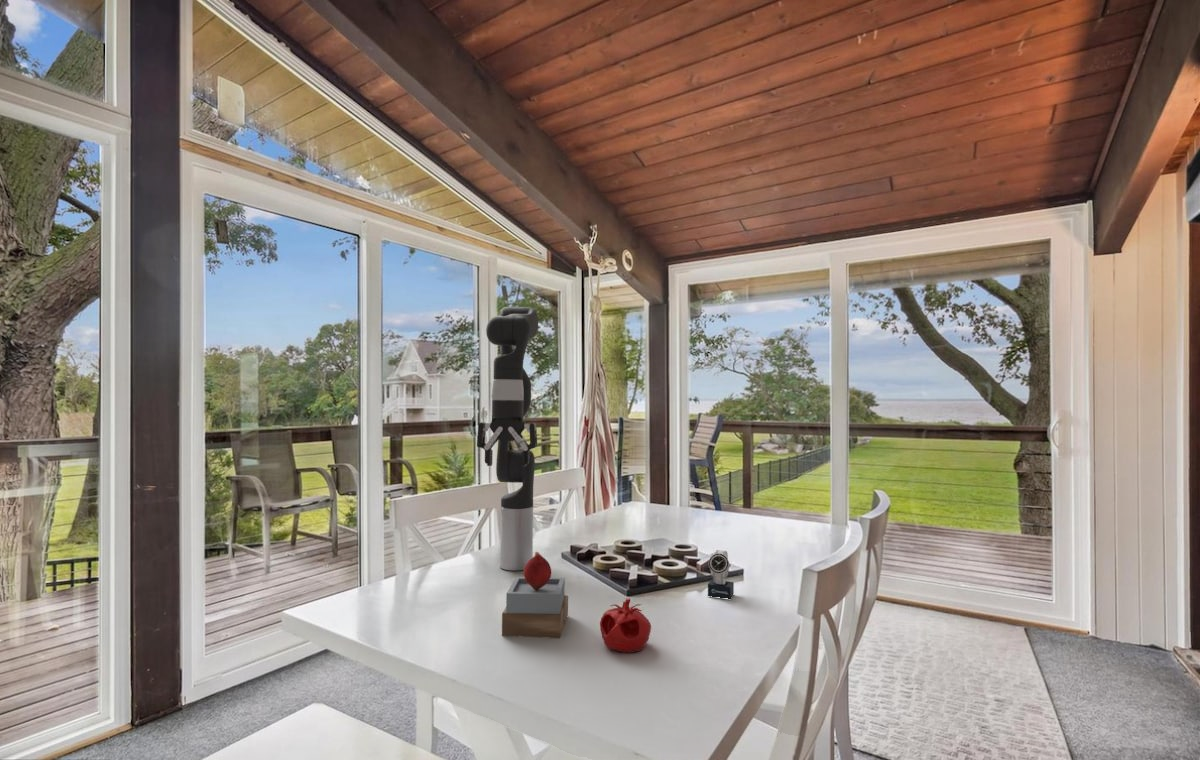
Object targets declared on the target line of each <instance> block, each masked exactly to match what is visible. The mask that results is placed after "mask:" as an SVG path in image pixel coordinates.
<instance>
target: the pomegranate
mask: <svg viewBox="0 0 1200 760" xmlns="http://www.w3.org/2000/svg"><path fill="white" fill-rule="evenodd" d="M630 603H631V598H625V601H622V606H620V605H618V604H616V603H615V604H612V605H610V607H613V606H615V607H614V608H610V609H608V610H606V611H605V612H604V613H603V614H602V616H601V618H600V621H599V627H600V633H601V638H602V640H603V644H604V645H605V646H606V647H607V648H609V649H610V650H612V651H618V652H622V653H634V652H638V651H641V650H643V648H644V647H645V644H646V643H648V641H649V639H650V635H651V630H652V625H651V622H650V620H649V619H648V618H647V617H646V616H645V615H644V613H642V611H643V609H639V608H638V606H641V605H642V603H637V604H634V605H633V606H630Z"/></svg>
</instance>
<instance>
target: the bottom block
mask: <svg viewBox="0 0 1200 760" xmlns="http://www.w3.org/2000/svg"><path fill="white" fill-rule="evenodd" d="M501 614H502V615H501V636H502V637H519V636H522V637H521V638H523V637H525V638H526V637H527V638H543V637H549V638H548V639H561V637H562V635H563V634H562V633H563V630H564V627H565V626H564V625H566V623H567V620H568V617H569V615H568V614H569V595H567V594H566V595H565V596H564V600H563V604H562V608H561V612H560V614H529V613H506V607H505V608H504V610H503V611H502V613H501ZM567 616H568V617H567ZM566 619H567V620H566ZM565 622H566V623H565Z"/></svg>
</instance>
